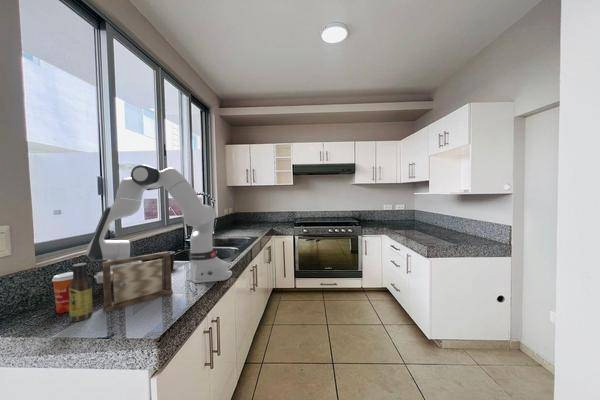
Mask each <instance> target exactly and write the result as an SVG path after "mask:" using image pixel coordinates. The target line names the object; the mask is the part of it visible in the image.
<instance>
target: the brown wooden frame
mask: <svg viewBox="0 0 600 400" xmlns="http://www.w3.org/2000/svg"><path fill="white" fill-rule="evenodd" d="M170 252H171V251H168V250H166V251H161V252H156V253H150V254H144V255H138V256H133V257H131V258H125V259H119V260H113V261H108V260H106V261H102V271H103V283H102V286H103V287H102V288H103V289H102V290H103V304H102V305H103V309H104V311H105V312H106V313H108V312H111V311H115V310H118V309H122V308H126V307H129V306H133V305H136V304H140V303H143V302H147V301H149V300H153V299H157V298H160V297H163V296H166V295H171V294H173V293H174V291H173V289H172V270H171V263H170ZM163 256H164V269H165V290H163V291H159V292H156V293H152V294H148V295H145V296H141V297H137V298H134V299H130V300H126V301H123V302H119V303H114V301H112V284H111V283H112V281H111V273H110V266H113V265H118V264H124V263H130V262H135V261H145V260H152V258H153V259H154V258H155V259H156V258H158V257H163Z"/></svg>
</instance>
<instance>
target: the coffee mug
mask: <svg viewBox="0 0 600 400" xmlns="http://www.w3.org/2000/svg"><path fill="white" fill-rule="evenodd" d="M169 252H170V263H171V271H173V270H174V267H175V266H174V265H175V255H176V252H175V251H169ZM157 258H158V259H164V256H163V257H157ZM153 260H154V258H152V259H151V261H153Z"/></svg>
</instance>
